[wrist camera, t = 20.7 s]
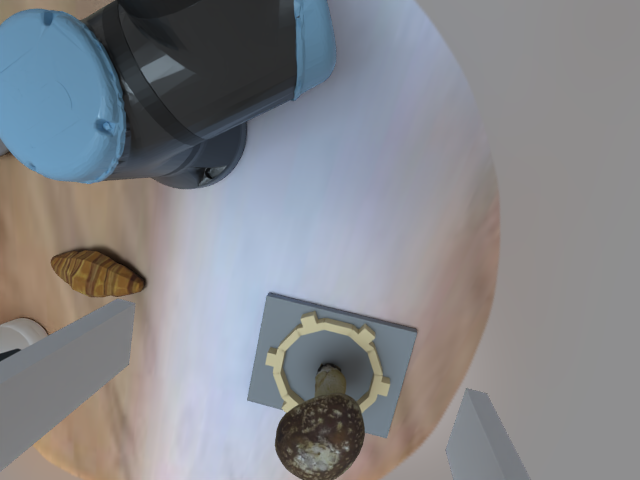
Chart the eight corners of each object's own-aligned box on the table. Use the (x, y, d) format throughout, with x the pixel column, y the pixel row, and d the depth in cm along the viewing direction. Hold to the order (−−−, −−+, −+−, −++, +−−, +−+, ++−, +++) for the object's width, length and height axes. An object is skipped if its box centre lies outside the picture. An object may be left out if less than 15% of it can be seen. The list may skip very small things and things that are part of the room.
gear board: (249, 395, 55) (243, 406, 52) (269, 292, 51) (263, 299, 49) (386, 432, 53) (387, 446, 51) (416, 328, 50) (418, 338, 47)
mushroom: (306, 406, 53) (281, 499, 38) (290, 349, 51) (258, 424, 37) (373, 396, 51) (374, 490, 37) (359, 337, 50) (354, 411, 35)
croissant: (151, 260, 53) (129, 270, 48) (144, 305, 54) (122, 319, 50) (63, 234, 54) (32, 241, 49) (58, 278, 55) (28, 289, 51)
